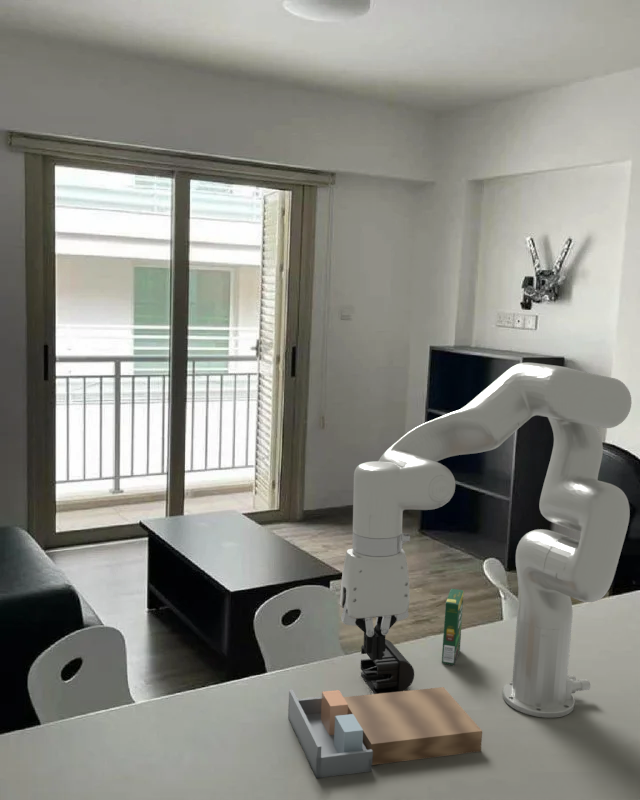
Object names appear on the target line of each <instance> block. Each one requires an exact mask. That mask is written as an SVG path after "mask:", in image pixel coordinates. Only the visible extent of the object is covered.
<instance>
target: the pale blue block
mask: <svg viewBox="0 0 640 800" xmlns="http://www.w3.org/2000/svg"><path fill="white" fill-rule="evenodd" d="M362 743H363V729H362V727H361V726H360V724H359V723H358V721H357V719H356V718H355V716H354V715H353V714H348V715H338V716H335V730H334V747H335V748H336V750H337V752H338V753H345V752H353V751H362Z"/></svg>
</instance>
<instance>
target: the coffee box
mask: <svg viewBox="0 0 640 800" xmlns="http://www.w3.org/2000/svg"><path fill="white" fill-rule="evenodd" d="M464 592H465V591H464V590H463V589H457V588H456V589H455V588H450V590H449V593H448V596H447V599H446V601H445V611H444V620H443V621H444V623H443V637H442V649H441V650H442V653H441V663H444V664H443V665H448V664H450V665H449V666H453V665H454V666H455V665H456V662H457V659H458V656H459V654H460V651H461V638H462V622H463V608H464V606H463V605H464V597H465V596H464V594H465V593H464Z"/></svg>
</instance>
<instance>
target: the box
mask: <svg viewBox="0 0 640 800" xmlns="http://www.w3.org/2000/svg"><path fill="white" fill-rule="evenodd" d="M321 705H322V696H314V697H305V698H304V697H303V698H298V697H297V696H296V694H295V692H294V689H289V691H288V709H287V711H288V713H287V715H288V716H287V718H288V721H289V722H290V724H291V727H292V729H293V730H294V734H295V736H296V738H297V740H298V742H299V744H300V746H301V748H302V750H303V752H304V755H305V757H306V759H307V761H308V763H309V766H310V768H311V770H312V772H313V774H314V776H315V778H316V779H320V778H329V777H336V776H342V775H345V776H346V775H350V774H360V773H366V772H367V773H368V772H372V771H373V765H372V758H373V751H372V749H370V750H367V749H366V747H365V746H364V744H363V743H362V751H353V752H345V753H338V752H337V750H336V748H335V747H334V735H329V734H328V732H327V730H326V728H325V726H324V725H323V723H322V721H321Z"/></svg>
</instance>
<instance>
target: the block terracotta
mask: <svg viewBox="0 0 640 800" xmlns="http://www.w3.org/2000/svg"><path fill="white" fill-rule="evenodd" d="M321 697H322V705H321V721H322V723H323V725H324V726H325V728H326V730H327V732H328V734H329V735H334V730H335V716H338V715H348V704H347V702H346V700H345V699H344V697H345V696H343V693H342V692H341V691H340V690H339V689H335V690H326V691H325V690H324V691H322V692H321Z"/></svg>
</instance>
